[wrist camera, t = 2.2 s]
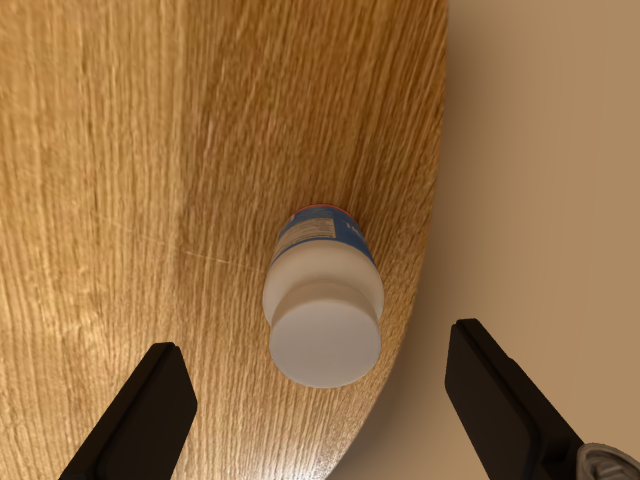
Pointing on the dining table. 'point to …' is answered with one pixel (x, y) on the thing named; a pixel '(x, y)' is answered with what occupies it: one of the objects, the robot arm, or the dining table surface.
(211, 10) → the dining table surface
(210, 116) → the dining table surface
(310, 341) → the pill bottle
